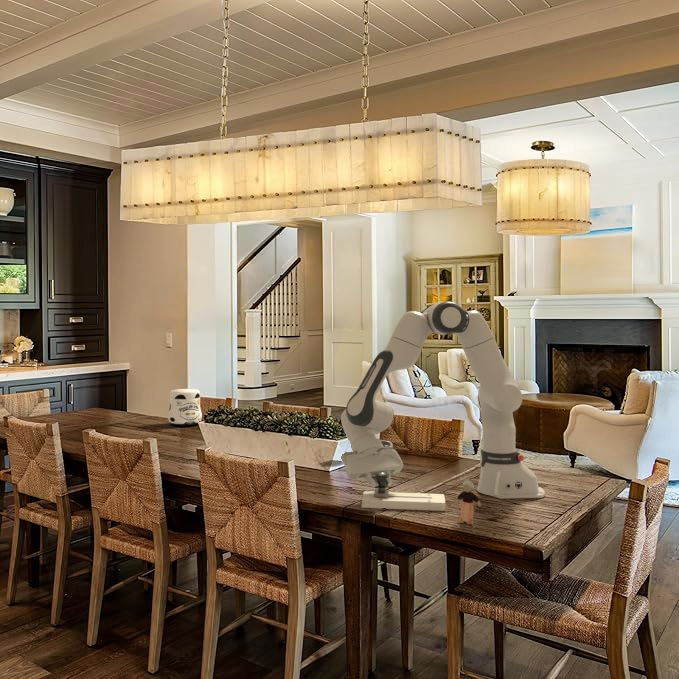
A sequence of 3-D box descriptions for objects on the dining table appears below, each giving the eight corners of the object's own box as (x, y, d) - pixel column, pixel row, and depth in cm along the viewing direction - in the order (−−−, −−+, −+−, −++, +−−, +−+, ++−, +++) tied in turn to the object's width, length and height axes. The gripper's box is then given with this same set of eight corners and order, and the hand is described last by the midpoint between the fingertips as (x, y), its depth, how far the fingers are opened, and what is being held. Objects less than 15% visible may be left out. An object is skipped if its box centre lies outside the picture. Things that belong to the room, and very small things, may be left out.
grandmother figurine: (453, 523, 202) (454, 480, 202) (456, 519, 206) (456, 477, 205) (479, 526, 200) (480, 483, 199) (482, 522, 203) (482, 479, 203)
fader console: (443, 501, 224) (444, 493, 224) (445, 510, 214) (445, 502, 214) (363, 498, 227) (364, 491, 227) (361, 507, 217) (361, 499, 217)
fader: (388, 493, 223) (388, 471, 223) (388, 497, 219) (388, 474, 219) (374, 492, 224) (375, 471, 223) (374, 496, 219) (374, 474, 219)
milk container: (189, 428, 352) (189, 393, 351) (161, 426, 358) (161, 391, 357) (208, 423, 368) (208, 389, 367) (180, 421, 374) (180, 387, 373)
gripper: (343, 447, 221) (358, 484, 213) (395, 441, 232) (412, 477, 224) (336, 458, 225) (351, 495, 217) (388, 452, 236) (404, 487, 228)
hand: (382, 486), depth 221 cm, fingers open, 4 cm apart
